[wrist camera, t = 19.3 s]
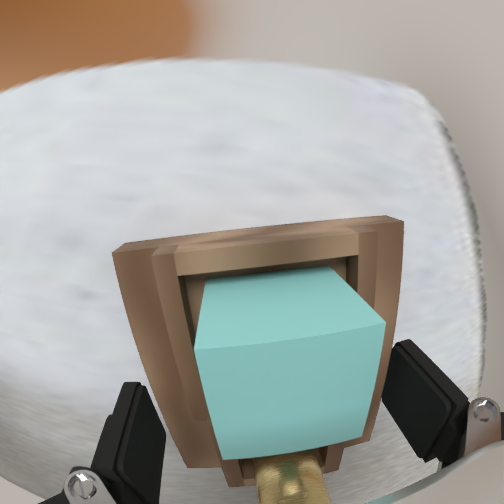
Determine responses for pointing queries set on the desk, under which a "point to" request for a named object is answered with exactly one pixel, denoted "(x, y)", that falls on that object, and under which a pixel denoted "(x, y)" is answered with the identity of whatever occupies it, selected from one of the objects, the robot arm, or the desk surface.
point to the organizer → (239, 263)
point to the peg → (290, 479)
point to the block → (286, 360)
